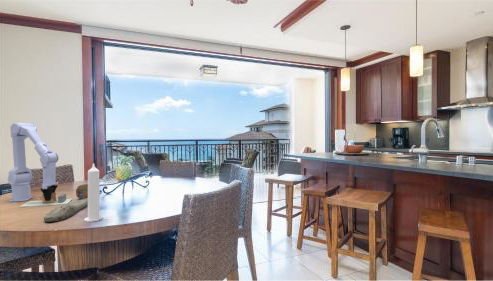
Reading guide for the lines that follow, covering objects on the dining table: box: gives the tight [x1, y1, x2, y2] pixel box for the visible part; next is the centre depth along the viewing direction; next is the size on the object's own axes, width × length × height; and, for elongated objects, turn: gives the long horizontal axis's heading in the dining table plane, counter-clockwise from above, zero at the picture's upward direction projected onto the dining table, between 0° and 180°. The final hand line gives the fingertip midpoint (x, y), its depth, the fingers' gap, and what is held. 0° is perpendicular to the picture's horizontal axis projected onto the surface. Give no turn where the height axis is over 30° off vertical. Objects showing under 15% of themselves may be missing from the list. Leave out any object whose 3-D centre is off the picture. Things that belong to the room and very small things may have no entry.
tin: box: [75, 182, 88, 200], centre depth 163 cm, size 15×3×8 cm, turn 168°
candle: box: [83, 162, 104, 223], centre depth 120 cm, size 7×7×25 cm
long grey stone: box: [43, 198, 88, 223], centre depth 131 cm, size 35×5×10 cm
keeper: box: [41, 191, 57, 203], centre depth 148 cm, size 4×5×4 cm
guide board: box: [18, 193, 74, 208], centre depth 148 cm, size 12×21×4 cm, turn 110°
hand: (49, 199), depth 148 cm, fingers closed on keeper, 4 cm apart
